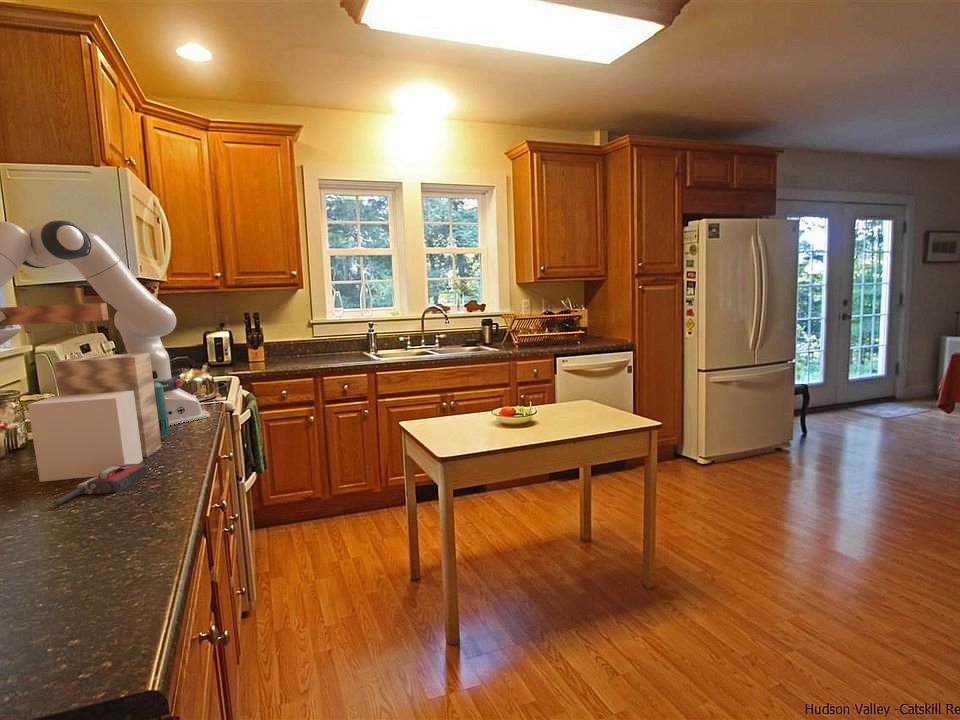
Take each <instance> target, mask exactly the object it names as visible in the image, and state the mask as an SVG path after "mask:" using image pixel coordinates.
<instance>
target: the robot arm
mask: <svg viewBox="0 0 960 720" xmlns="http://www.w3.org/2000/svg"><path fill="white" fill-rule="evenodd" d="M65 262H67V263H70V264H71V265H73V266H74V267H75V268H76V269H77V270H78V271H79V272H80V274H81V276H82V277H84V279H85V280H86V281H87V283H88V284H89V285H90V286H91V287H92V288H93V290H94V291H95V292H96V294H98V296H99V297H100V298H101V299H102V300H103V301H104V302H105V303H106V304H109V305H110V306H111V307H113V308H114V309H115V310H116V313H115V314H114V316H113V317H114V319H113V323H114V326H115V328H116V329H117V330H118V331H119V333H120V336H121V340H122V341H123V344H124V348H125V350H126V352H127V353H126V354H137V353H150V359H151V367H152V371H156V372H157V376H158V378H156V379H153V382H159V383H160V384H162V385H163V391H164V397H165V401H166V402H165V403H166V412H167V417H168V423H169V425H168V427H171V426H175V425H179V424H178V423H180V424H184V423H183V422H185V423H189V422H194V421H197V420H198V419H199V420H202V419H207V417H208V418H210V416H211V415H210V412H209V410H208V411H207V410H204V409H202V405H201V403H200V401H199V399H198V398H197V397H196V396H194V395H192V394H191V393H189V392H187V391H185V390H183V389H181V388H180V387H182V385H184V381H183V380H182V379H179V378H178V379H177V378H174V377H172V372H171V371H172V370H171V361H170V360H171V359H170V356H169V353H168V351H167V350H166V349H165V347H164V345H163V343H162V340H161V338H162V337H164V336H167V335H169V334H170V333H172V332H173V331H174V330H175V328H176V326H177V317H176V314H175V312H174V310H173V309H172V308H170V307H168V306H167V305H165V304H164V303H162V302H161V301H160V300H159V299H158V298H157V297H156V296H155V295H154V294H153V293H152V292H150V290H148V289H147V288H146V287H145V286H144V285H143V284H142V283H141V282H140V281H139V280H138V279H137V278H136V277H135V275H134V274H133V273H132V271H130V269H129V268H128V267H127V265H126V264H125V263H124V261H122V259H121V258H120V257H119V255H118V254H117V253H116V252H115V251H114V250H113V248H112V247H111V246H110V245H109V244H108V243H107V242H105V241H104V239H103V238H101V237H100V236H99V235H98V234H96V233H93V232H86V231H84V230H83V229H82V228H81V227H80V226H78V225H76V224H74V223H73V222H71V221H68V220H52V221H48V222H47V223H42V224H41V223H40V224H39V225H35V226H34V227H32V228H30V229H27V230H25V229H23V228H22V227H21V226H19V225H17V224H15V223H12V222H9V221H4V220H3V221H2V220H0V288H2V287H4V286H5V285H7V284H8V283H9V281H11V279H12V278H13V277H14V276H15V274H16V273H17V272H18V270H19V269H20V267H21V265H23V266H26V267H28V268H32V269H45V268H49V267H54V266H58V265H59V266H60V265H62V264H63V263H65ZM8 318H9V317H8V315H7V314H6V313H5V312H0V322H3V321H5V320H6V319H8ZM21 331H22V326H21V325H4V326H0V347H1V346H2V345H4V344H5V343H6V342H8V341H9V340H11V339H13V338H14V337H16V336H17V335H18V334H19V333H20V332H21ZM193 420H194V421H193ZM188 421H189V422H188ZM174 424H175V425H174ZM170 425H171V426H170Z"/></svg>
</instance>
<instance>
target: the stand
mask: <svg viewBox="0 0 960 720" xmlns="http://www.w3.org/2000/svg"><path fill="white" fill-rule="evenodd" d="M53 364H54V369H55V377H56V381H57V382H56V384H57V391H58V396H66V395H79V394H93V393H107V392H120V391H134V397H135V405H136V412H137V420H138V428H139V435H140V443H141V451H142V458H143V457H145V458H149V457H150V456H152V454H154V453H155V452H157V451H158V450H159V449H161V448H162V440H161V436H160V430H159V422H158V414H157V406H156V398H155V390H154V382H153V374H152V367H151V359H150V353H137V354H128V353H123V354H108V355H107V354H106V355H93V356H92V355H91V356H76V357H71V358H67V359H63V360H62V359H61V360H58V361H54V362H53ZM143 459H144V458H143Z"/></svg>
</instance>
